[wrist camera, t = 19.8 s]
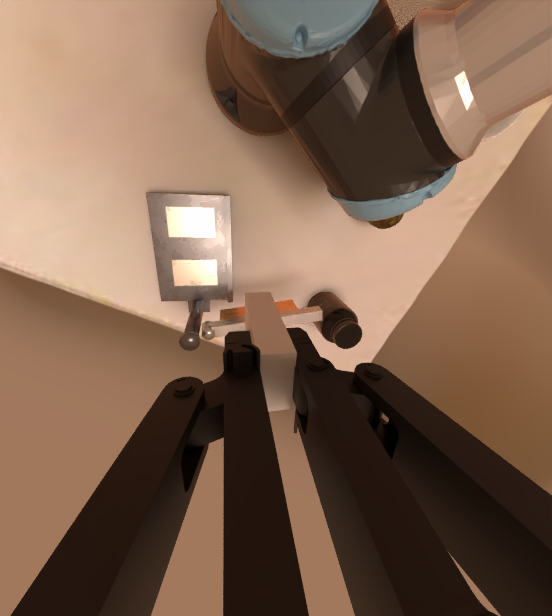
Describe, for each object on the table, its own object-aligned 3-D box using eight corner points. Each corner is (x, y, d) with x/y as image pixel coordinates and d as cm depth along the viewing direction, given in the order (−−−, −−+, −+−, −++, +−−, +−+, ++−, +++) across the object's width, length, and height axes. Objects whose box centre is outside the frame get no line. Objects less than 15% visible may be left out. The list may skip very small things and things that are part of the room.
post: (188, 292, 48) (173, 330, 35) (208, 291, 48) (202, 329, 35) (189, 310, 49) (176, 354, 36) (209, 310, 50) (204, 352, 37)
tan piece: (309, 293, 45) (323, 310, 39) (309, 303, 46) (323, 321, 40) (204, 308, 43) (200, 329, 37) (206, 318, 44) (203, 340, 38)
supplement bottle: (309, 325, 55) (329, 359, 44) (304, 295, 52) (325, 323, 41) (341, 317, 56) (368, 348, 45) (338, 287, 53) (367, 312, 42)
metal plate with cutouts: (149, 192, 41) (143, 192, 38) (229, 195, 43) (229, 196, 40) (163, 297, 47) (159, 303, 45) (232, 295, 50) (232, 301, 47)
